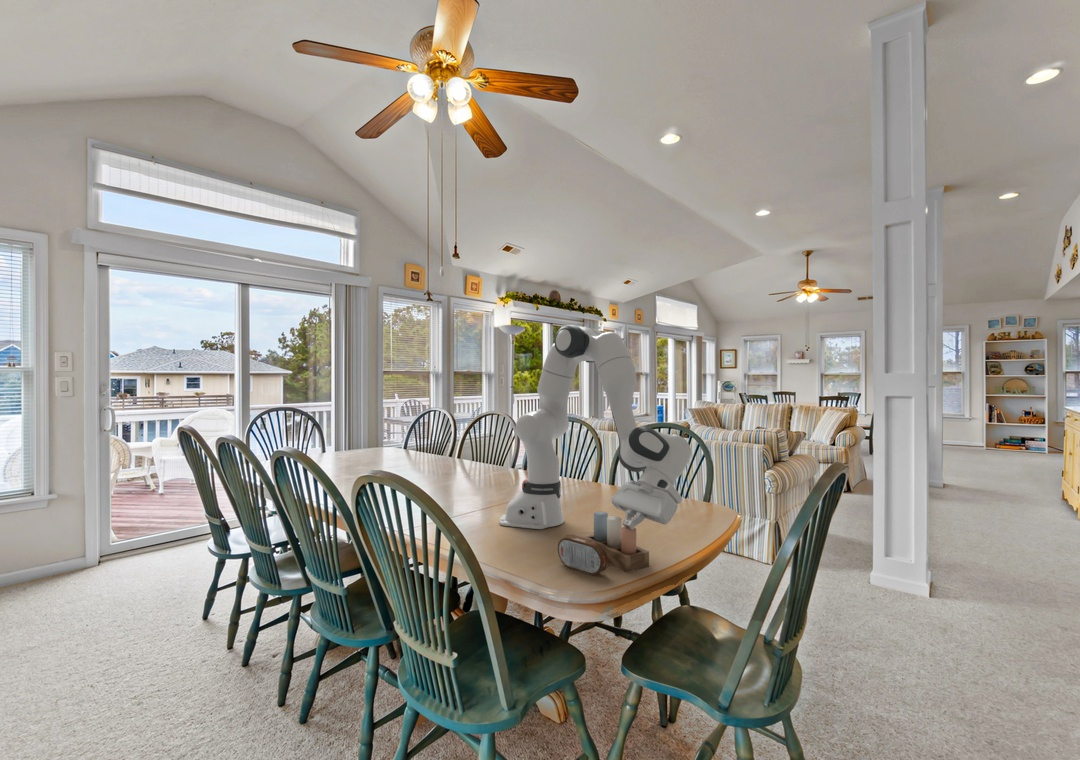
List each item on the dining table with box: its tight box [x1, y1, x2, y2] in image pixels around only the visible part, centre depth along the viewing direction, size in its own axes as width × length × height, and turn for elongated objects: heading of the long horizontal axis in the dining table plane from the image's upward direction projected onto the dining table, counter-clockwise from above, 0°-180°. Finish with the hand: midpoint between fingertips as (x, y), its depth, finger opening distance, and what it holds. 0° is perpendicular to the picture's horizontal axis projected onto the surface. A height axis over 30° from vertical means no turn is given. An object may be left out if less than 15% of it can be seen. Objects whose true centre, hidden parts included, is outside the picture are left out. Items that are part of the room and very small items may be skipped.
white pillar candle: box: [607, 515, 623, 548], centre depth 141 cm, size 4×4×8 cm
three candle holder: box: [581, 534, 650, 574], centre depth 141 cm, size 19×8×4 cm, turn 31°
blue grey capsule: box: [593, 511, 609, 542], centre depth 146 cm, size 4×4×8 cm
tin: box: [557, 534, 609, 576], centre depth 133 cm, size 15×3×8 cm, turn 48°
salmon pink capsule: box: [621, 526, 637, 555], centre depth 136 cm, size 4×4×8 cm
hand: (627, 527), depth 135 cm, fingers closed, pressing on salmon pink capsule
